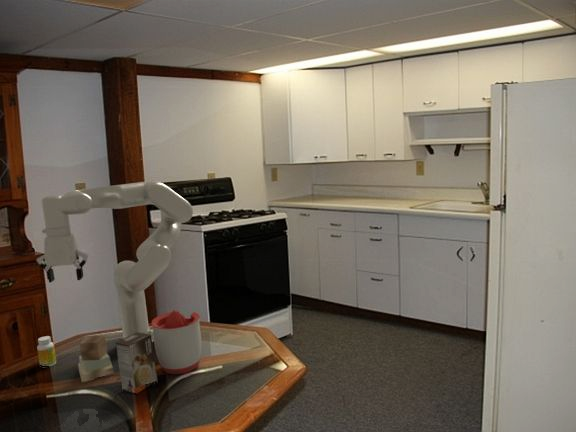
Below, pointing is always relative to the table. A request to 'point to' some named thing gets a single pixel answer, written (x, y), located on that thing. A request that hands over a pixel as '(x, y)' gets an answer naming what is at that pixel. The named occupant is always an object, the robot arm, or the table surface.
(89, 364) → the sage top block
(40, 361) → the supplement bottle
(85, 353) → the walnut cube
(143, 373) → the coffee box
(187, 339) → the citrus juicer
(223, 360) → the table surface
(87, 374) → the birch base block
